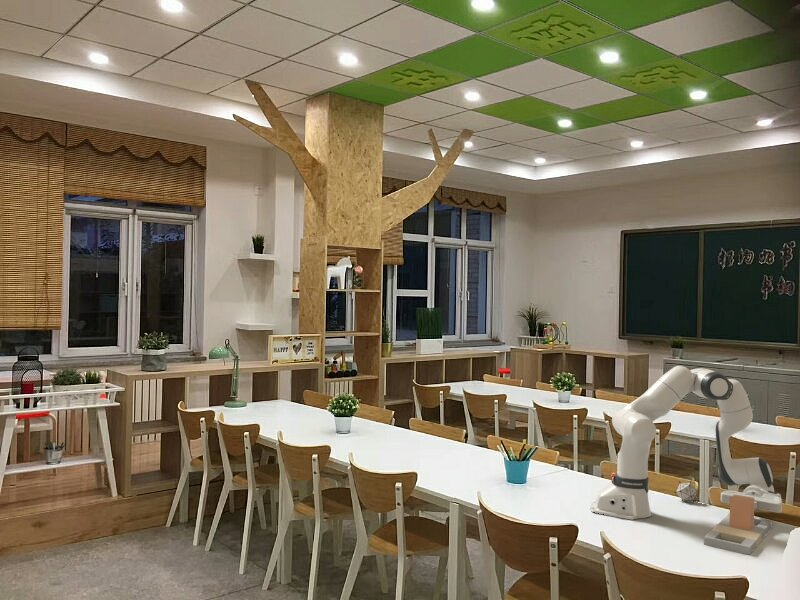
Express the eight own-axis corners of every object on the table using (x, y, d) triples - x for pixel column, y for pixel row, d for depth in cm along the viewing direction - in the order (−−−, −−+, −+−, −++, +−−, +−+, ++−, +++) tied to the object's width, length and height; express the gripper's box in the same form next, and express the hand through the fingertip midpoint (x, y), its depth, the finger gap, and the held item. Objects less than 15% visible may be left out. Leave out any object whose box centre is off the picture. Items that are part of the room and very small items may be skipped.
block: (734, 522, 243) (734, 494, 243) (754, 526, 239) (754, 497, 239) (729, 526, 238) (729, 498, 238) (749, 530, 234) (750, 501, 234)
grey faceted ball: (687, 509, 278) (696, 488, 281) (696, 507, 270) (706, 485, 273) (667, 497, 280) (677, 476, 283) (676, 495, 272) (685, 473, 275)
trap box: (729, 520, 253) (729, 513, 253) (771, 528, 244) (771, 521, 244) (703, 544, 226) (703, 537, 226) (749, 555, 218) (749, 547, 218)
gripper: (725, 484, 261) (715, 491, 251) (785, 494, 248) (778, 503, 238) (725, 500, 261) (715, 508, 251) (785, 512, 248) (777, 521, 238)
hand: (746, 506), depth 244 cm, fingers closed
